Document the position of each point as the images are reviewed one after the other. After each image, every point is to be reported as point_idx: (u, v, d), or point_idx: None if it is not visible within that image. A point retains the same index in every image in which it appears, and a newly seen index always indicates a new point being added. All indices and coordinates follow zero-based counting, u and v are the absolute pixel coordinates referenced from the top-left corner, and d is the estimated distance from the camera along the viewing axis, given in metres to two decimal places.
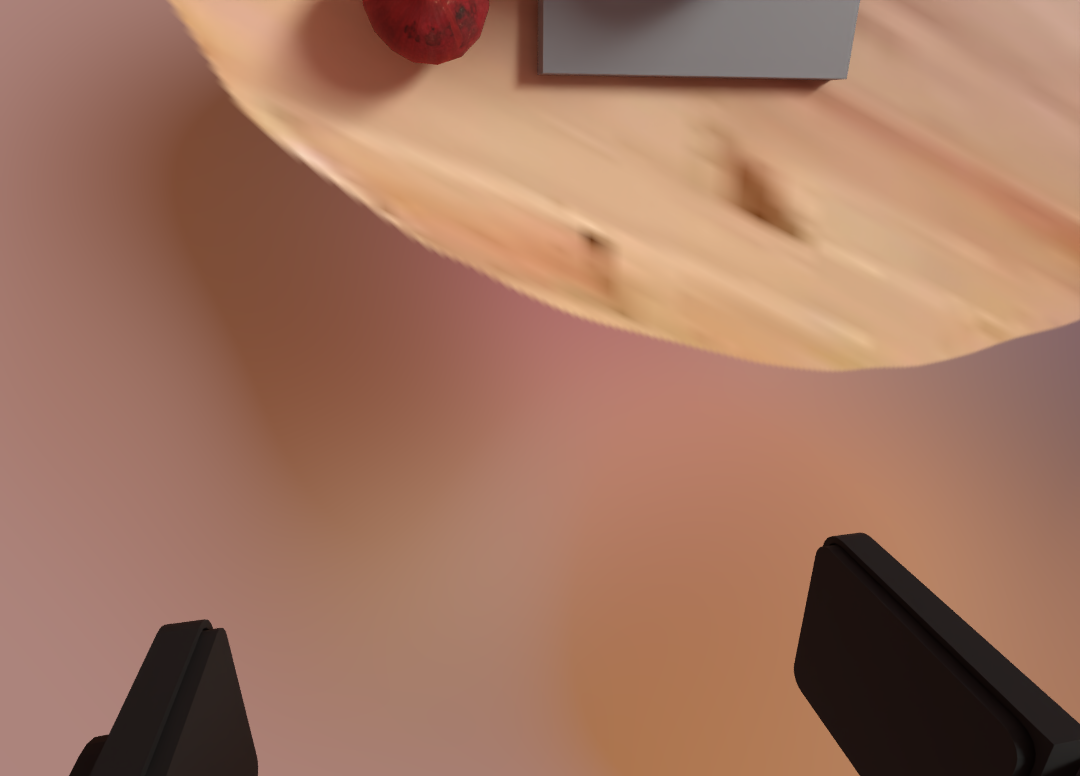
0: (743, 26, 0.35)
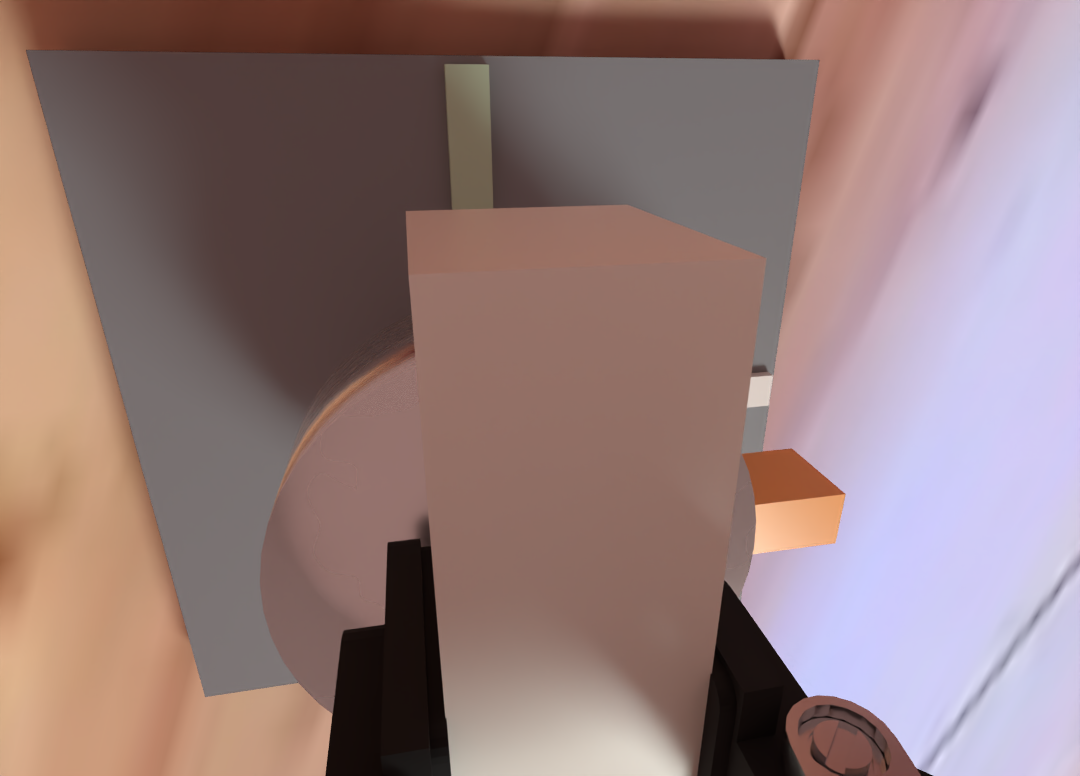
0: (250, 501, 0.18)
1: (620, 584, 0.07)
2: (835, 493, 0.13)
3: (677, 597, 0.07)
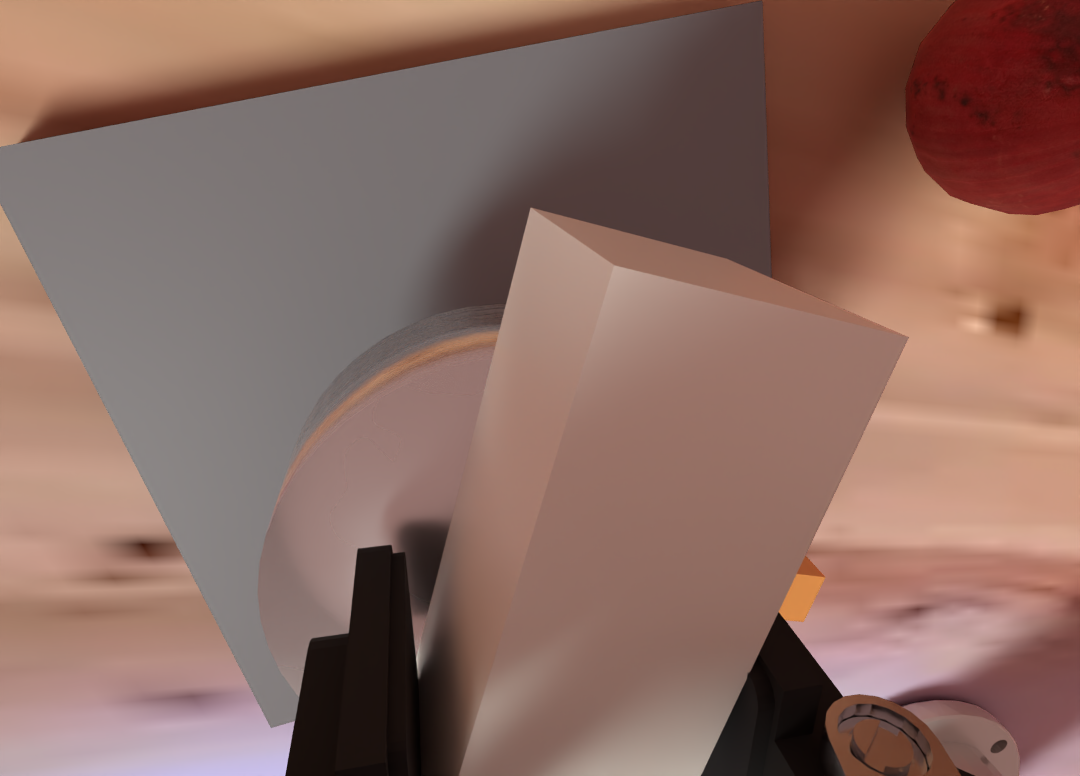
0: (331, 202, 0.15)
1: (683, 608, 0.07)
2: (816, 574, 0.14)
3: (727, 632, 0.07)
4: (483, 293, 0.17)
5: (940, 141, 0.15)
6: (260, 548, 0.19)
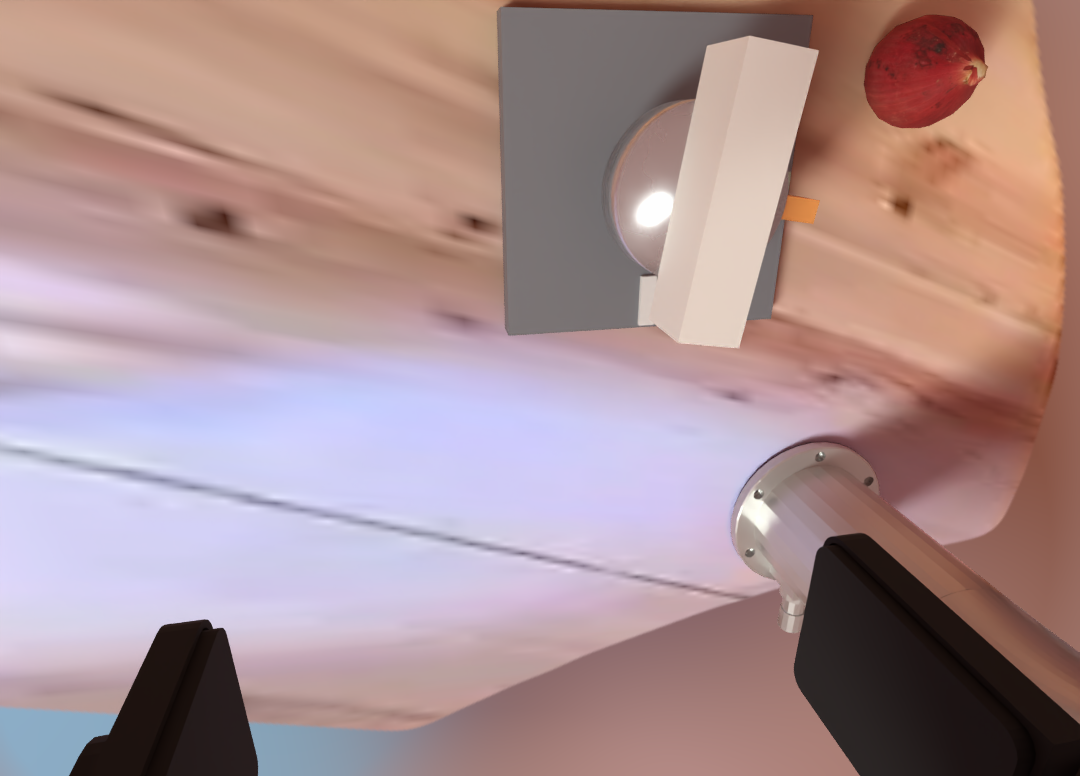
0: (623, 61, 0.36)
1: (769, 135, 0.28)
2: (816, 200, 0.34)
3: (781, 145, 0.28)
4: None
5: (875, 86, 0.37)
6: (539, 226, 0.38)
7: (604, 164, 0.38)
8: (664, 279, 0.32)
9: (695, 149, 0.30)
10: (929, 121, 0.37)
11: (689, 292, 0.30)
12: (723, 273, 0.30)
